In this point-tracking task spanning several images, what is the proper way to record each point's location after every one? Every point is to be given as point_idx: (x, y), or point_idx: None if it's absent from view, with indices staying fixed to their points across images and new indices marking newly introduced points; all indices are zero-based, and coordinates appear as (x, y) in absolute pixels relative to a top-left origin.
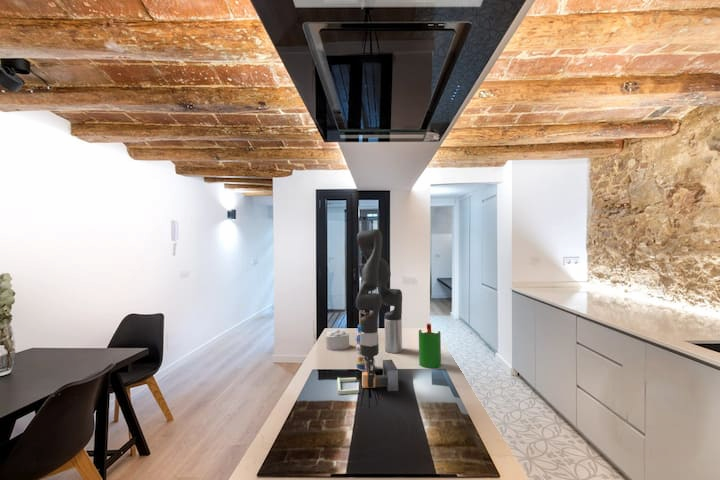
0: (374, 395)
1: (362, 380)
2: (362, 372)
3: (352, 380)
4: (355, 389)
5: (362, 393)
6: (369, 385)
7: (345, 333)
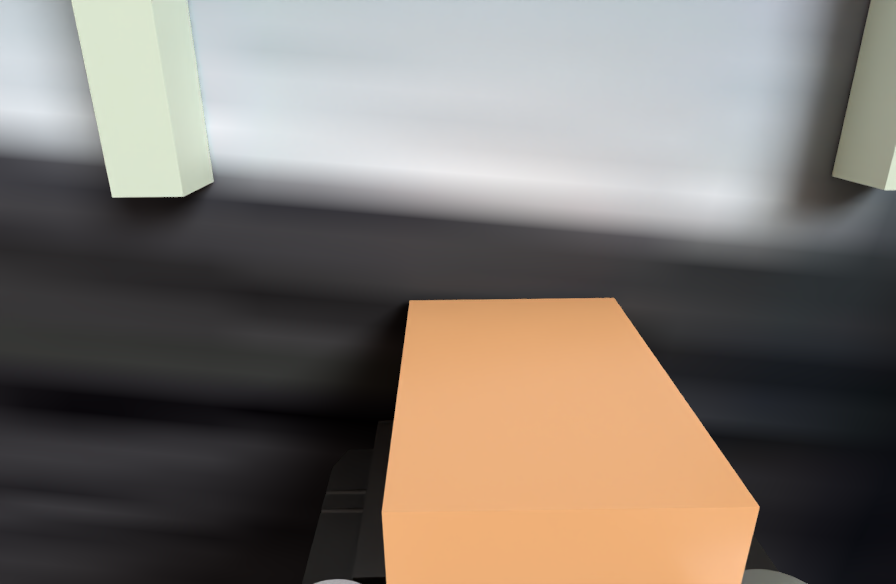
0: (66, 477)
1: (544, 358)
2: (688, 512)
3: (872, 67)
4: (134, 102)
5: (140, 261)
6: (337, 471)
7: None
